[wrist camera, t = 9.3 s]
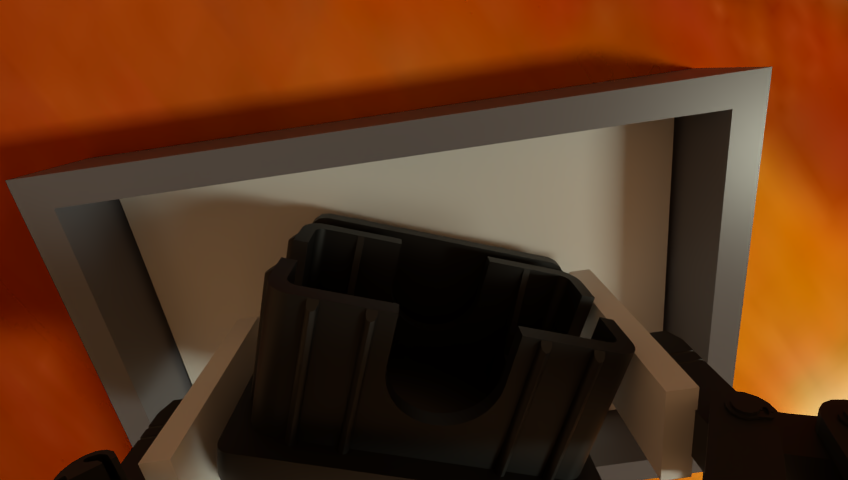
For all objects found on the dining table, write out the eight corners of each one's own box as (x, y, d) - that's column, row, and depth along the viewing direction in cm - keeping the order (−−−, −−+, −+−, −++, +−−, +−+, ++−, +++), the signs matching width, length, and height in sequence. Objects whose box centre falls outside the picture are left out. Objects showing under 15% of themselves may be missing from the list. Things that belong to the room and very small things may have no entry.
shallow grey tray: (213, 467, 22) (177, 541, 18) (89, 158, 16) (5, 180, 13) (672, 405, 21) (722, 469, 18) (694, 68, 16) (771, 66, 13)
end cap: (277, 375, 18) (205, 543, 11) (300, 206, 15) (225, 298, 9) (518, 414, 19) (575, 587, 12) (574, 261, 16) (679, 378, 10)
